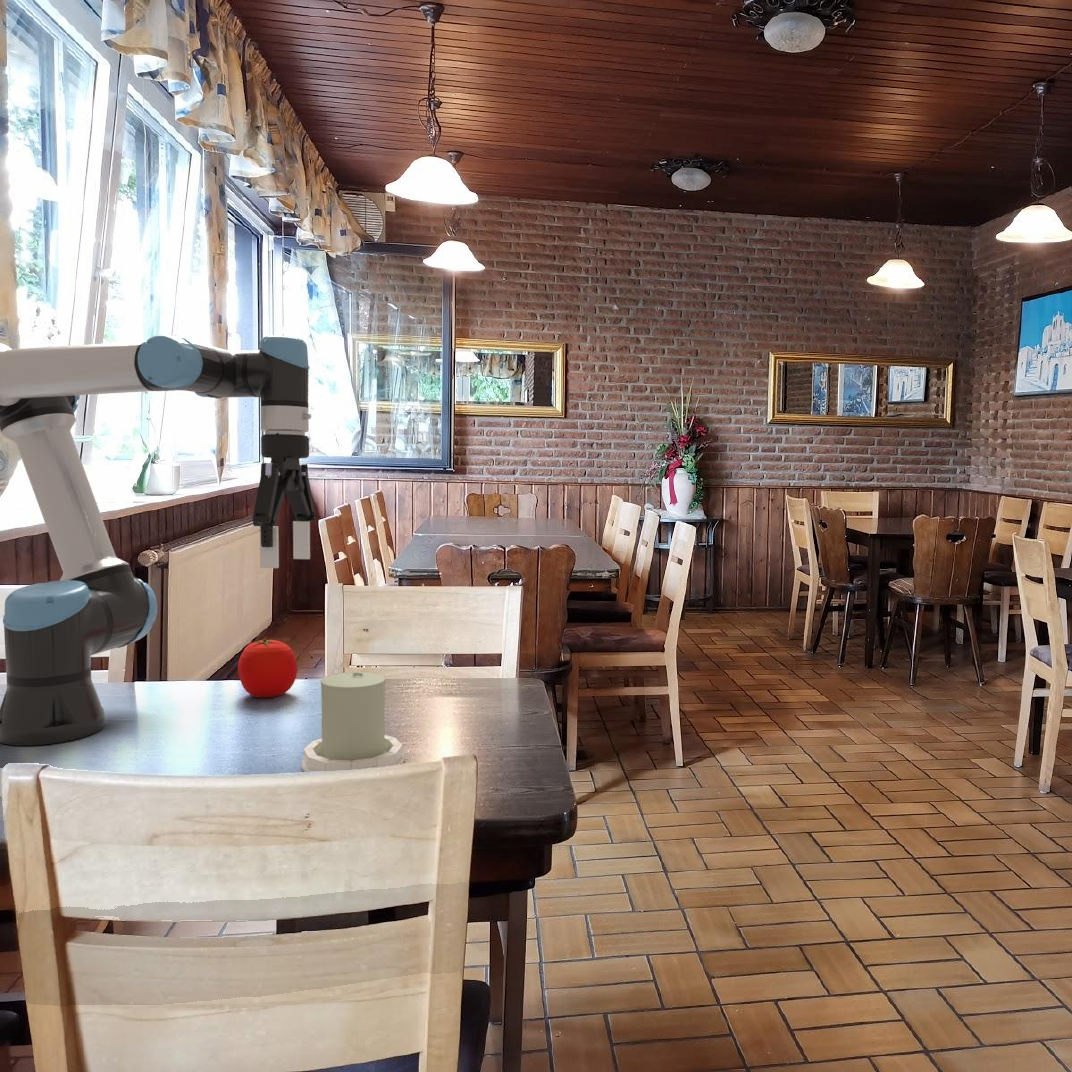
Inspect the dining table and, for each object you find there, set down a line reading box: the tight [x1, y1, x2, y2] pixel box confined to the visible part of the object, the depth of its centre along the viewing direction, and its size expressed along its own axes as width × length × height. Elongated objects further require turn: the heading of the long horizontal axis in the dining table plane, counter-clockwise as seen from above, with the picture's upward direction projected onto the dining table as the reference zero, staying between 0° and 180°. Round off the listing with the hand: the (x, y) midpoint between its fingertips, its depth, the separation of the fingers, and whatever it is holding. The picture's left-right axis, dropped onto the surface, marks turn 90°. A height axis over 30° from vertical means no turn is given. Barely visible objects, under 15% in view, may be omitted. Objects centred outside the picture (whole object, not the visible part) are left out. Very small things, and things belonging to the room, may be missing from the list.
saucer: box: [301, 734, 405, 771], centre depth 121 cm, size 14×14×2 cm
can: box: [320, 671, 386, 761], centre depth 120 cm, size 9×9×12 cm
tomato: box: [237, 638, 298, 698], centre depth 155 cm, size 10×11×11 cm
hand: (286, 563), depth 138 cm, fingers open, 13 cm apart
